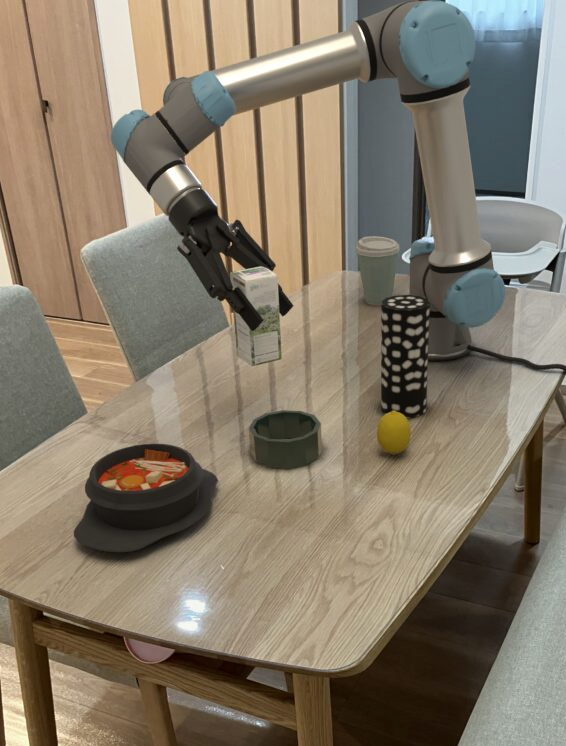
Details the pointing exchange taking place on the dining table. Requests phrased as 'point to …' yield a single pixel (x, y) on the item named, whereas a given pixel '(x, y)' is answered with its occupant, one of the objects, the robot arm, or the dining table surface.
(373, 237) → the disposable coffee cup
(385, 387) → the white-spotted black cylinder
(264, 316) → the syrup box
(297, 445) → the crock
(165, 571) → the dining table surface
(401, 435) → the lemon
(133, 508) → the casserole
